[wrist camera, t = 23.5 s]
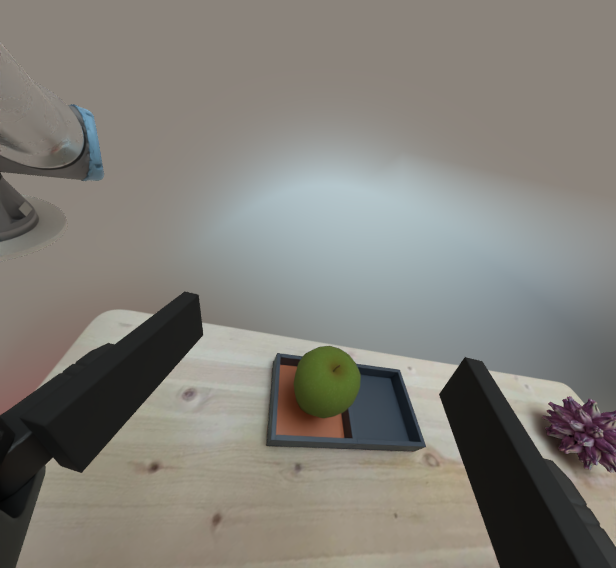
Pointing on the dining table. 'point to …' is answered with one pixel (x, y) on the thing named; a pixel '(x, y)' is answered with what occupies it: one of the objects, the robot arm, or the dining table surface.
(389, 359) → the dining table surface
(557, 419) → the flower
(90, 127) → the robot arm
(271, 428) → the tray
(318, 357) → the apple
